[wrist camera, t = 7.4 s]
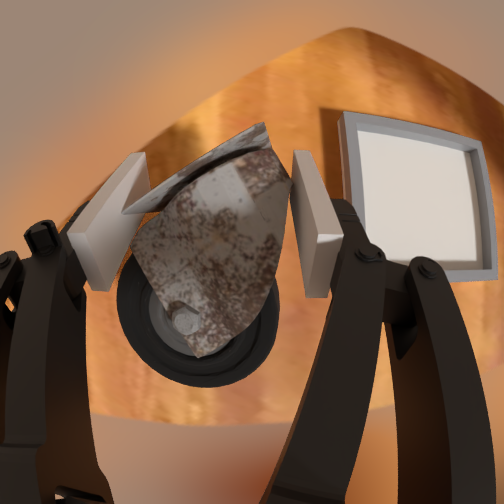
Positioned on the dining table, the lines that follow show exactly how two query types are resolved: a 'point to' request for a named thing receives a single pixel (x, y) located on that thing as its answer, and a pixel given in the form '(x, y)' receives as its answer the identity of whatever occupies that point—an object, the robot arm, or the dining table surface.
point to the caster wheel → (208, 265)
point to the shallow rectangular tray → (420, 194)
